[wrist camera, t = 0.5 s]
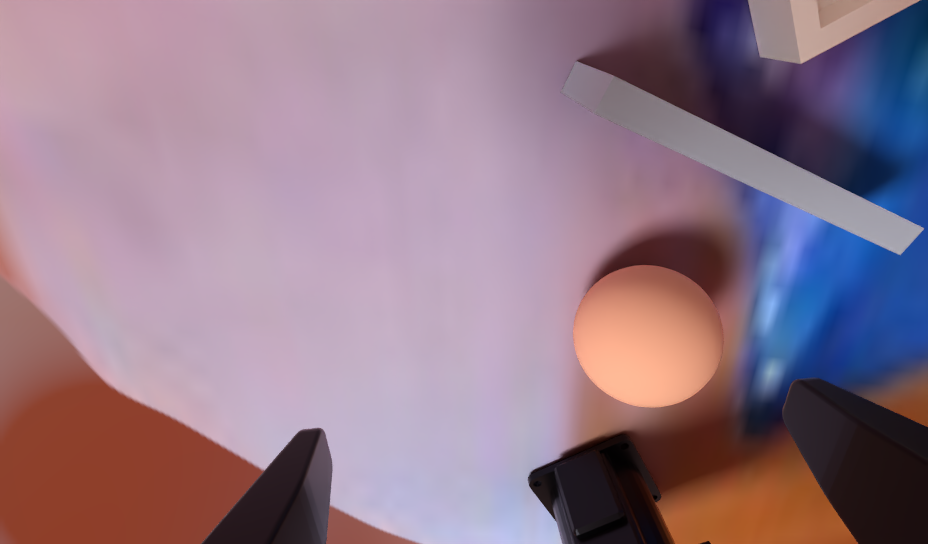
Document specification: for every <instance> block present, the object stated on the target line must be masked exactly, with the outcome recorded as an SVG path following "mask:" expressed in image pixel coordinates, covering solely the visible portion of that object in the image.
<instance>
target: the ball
mask: <svg viewBox="0 0 928 544" xmlns="http://www.w3.org/2000/svg"><path fill="white" fill-rule="evenodd" d="M573 338H574V346H575V350H576V354H577V357H578V359H579V362H580V364H581V366H582V368H583V369H584V371H585V372H586V374H587V375H588V377H589V378H590V379H591V380H592V381H593V382H594V383H595V384H596V385H597V386H598V387H599V388H600V389H601V390H602V391H604V392H605V393H607V394H608V395H610V396H612V397H613V398H615V399H617V400H619V401H622V402H625V403H627V404H630V405H635V406H641V407H663V406H668V405H673V404H676V403H679V402H681V401H684V400H686V399H688V398H690V397H691V396H693V395H694V394H696V393H697V392H698V391H700V390H701V389H702V388H703V387H704V386H705V385H706V384H707V383H708V381H709V380H710V379H711V378H712V376H713V375H714V373H715V371H716V369H717V367H718V365H719V362H720V360H721V356H722V351H723V344H724V337H723V327H722V323H721V319H720V316H719V313H718V311H717V309H716V307H715V305H714V303H713V302H712V300H711V299H710V297H709V296H708V295H707V294H706V292H705V291H704V290H703V289H702V288H701V287H700V286H699V285H698V284H696V283H695V282H694V281H692V280H691V279H690V278H688V277H686V276H685V275H683V274H681V273H679V272H677V271H674V270H671V269H668V268H664V267H660V266H652V265H637V266H631V267H626V268H623V269H619V270H617V271H614V272H612V273H610V274H608V275H606V276H605V277H603V278H602V279H600V280H599V281H598V282H597V283H596V284H594V285H593V286H592V288H591V289H590V290H589V291H588V292H587V293H586V295H585V296H584V298H583V299H582V301H581V303H580V305H579V307H578V310H577V313H576V316H575V320H574V329H573Z"/></svg>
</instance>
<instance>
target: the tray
mask: <svg viewBox="0 0 928 544" xmlns="http://www.w3.org/2000/svg"><path fill="white" fill-rule="evenodd" d="M918 1H920V0H748V3H749V8H750V13H751V18H752V22H753V27H754V32H755V36H756V41H757V46H758V51H759V55H760V57H763V58H769V59H774V60H780V61H786V62H792V63H798V64H802V63H804V62H806V61H808V60H809V59H811V58H813V57H815V56H817V55H819V54H821V53H823V52H824V51H826V50H828V49H830V48H832V47H834V46H836V45H837V44H839V43H841V42H843V41H845V40H847V39H849V38H851V37H852V36H854V35H856V34H858V33H860V32H862V31H864V30H866V29H867V28H869V27H871V26H873V25H875V24H877V23H879V22H880V21H882V20H884V19H886V18H888V17H890V16H892V15H894V14H895V13H897V12H899V11H901V10H903V9H905V8H907V7H909V6H910V5H912V4H914V3H916V2H918Z"/></svg>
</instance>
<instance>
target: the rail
mask: <svg viewBox="0 0 928 544" xmlns="http://www.w3.org/2000/svg"><path fill="white" fill-rule="evenodd" d="M561 93H563V94H564V95H566V96H567V97H569V98H570V99H572V100H573V101H575V102H577V103H578V104H580V105H581V106H583V107H584V108H586V109H587V110H589V111H591V112H592V113H594V114H596V115H598V116H600V117H602V118H604V119H607V120H609V121H611V122H613V123H615V124H617V125H619V126H622V127H624V128H626V129H628V130H630V131H632V132H635V133H637V134H639V135H641V136H643V137H645V138H648V139H650V140H652V141H654V142H656V143H658V144H661V145H663V146H665V147H667V148H669V149H671V150H674V151H676V152H678V153H680V154H682V155H684V156H687V157H689V158H691V159H693V160H695V161H697V162H700V163H702V164H704V165H706V166H708V167H710V168H713V169H715V170H717V171H719V172H721V173H723V174H726V175H728V176H730V177H732V178H734V179H736V180H739V181H741V182H743V183H745V184H747V185H749V186H752V187H754V188H756V189H758V190H760V191H762V192H765V193H767V194H769V195H771V196H773V197H775V198H778V199H780V200H782V201H784V202H786V203H788V204H791V205H793V206H795V207H797V208H799V209H801V210H804V211H806V212H808V213H810V214H812V215H814V216H817V217H819V218H821V219H823V220H825V221H827V222H830V223H832V224H834V225H836V226H838V227H840V228H843V229H845V230H847V231H849V232H851V233H853V234H856V235H858V236H860V237H862V238H864V239H866V240H868V241H871V242H873V243H875V244H877V245H879V246H881V247H884V248H886V249H888V250H890V251H892V252H894V253H897V254H899V255H901V254H902V252H903V251H904V250H905V249H906V248H907V247H908V246H909V245H910V244H911V243H912V241H913V240H914V239H915V238H916V237H917V236H918V235H919V234H920V233H921V232H922V231H923V229H924V228H922V227H920V226H918V225H916V224H914V223H912V222H910V221H908V220H906V219H904V218H902V217H900V216H898V215H896V214H894V213H892V212H890V211H888V210H886V209H884V208H882V207H880V206H878V205H876V204H874V203H871V202H869V201H867V200H865V199H863V198H861V197H859V196H857V195H855V194H853V193H851V192H849V191H847V190H845V189H843V188H841V187H839V186H837V185H835V184H833V183H831V182H829V181H827V180H825V179H823V178H821V177H819V176H817V175H815V174H813V173H811V172H808V171H806V170H804V169H802V168H800V167H798V166H796V165H794V164H792V163H790V162H788V161H786V160H784V159H782V158H780V157H778V156H776V155H774V154H772V153H770V152H768V151H766V150H764V149H762V148H760V147H758V146H756V145H754V144H752V143H750V142H748V141H745V140H743V139H741V138H739V137H737V136H735V135H733V134H731V133H729V132H727V131H725V130H723V129H721V128H719V127H717V126H715V125H713V124H711V123H709V122H707V121H705V120H703V119H701V118H699V117H697V116H695V115H693V114H691V113H689V112H687V111H685V110H682V109H680V108H678V107H676V106H674V105H672V104H670V103H668V102H666V101H664V100H662V99H660V98H658V97H656V96H654V95H652V94H650V93H648V92H646V91H644V90H642V89H640V88H638V87H636V86H634V85H632V84H630V83H628V82H626V81H624V80H622V79H620V78H617V77H615V76H613V75H611V74H608V73H606V72H603V71H600V70H598V69H595V68H593V67H590V66H588V65H585V64H583V63H580V62H577V61H576V62H575V64H574V66H573V68H572V70H571V72H570V74H569V76H568V78H567V80H566V82H565V85H564V87H563V89H562V91H561Z"/></svg>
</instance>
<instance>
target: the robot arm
mask: <svg viewBox="0 0 928 544" xmlns="http://www.w3.org/2000/svg"><path fill="white" fill-rule="evenodd" d="M782 415H783V420H784V423H785V425H786V427H787V429H788V431H789V432H790V434H791V436H792V438H793V439H794V441H795V443H796V445H797V446H798V448H799V450H800V452H801V454H802V455H803V457H804V459H805V461H806V462H807V464H808V466H809V468H810V469H811V471H812V473H813V475H814V477H815V478H816V480H817V482H818V484H819V485H820V487H821V489H822V490H823V492H824V494H825V495H826V497H827V499H828V500H829V502H830V503H831V505H832V506H833V508H834V509H835V511H836V512H837V513H838V515H839V516H840V518H841V519H842V521H843V522H844V524H845V525H846V526H847V528H848V529H849V531H850V532H851V534H852V535H853V537H854V538H855V539H856V541H857V542H858V544H928V427H926V426H924V425H921V424H919V423H917V422H915V421H913V420H910V419H908V418H906V417H904V416H902V415H899V414H897V413H895V412H893V411H890V410H888V409H886V408H884V407H882V406H879V405H877V404H875V403H873V402H871V401H868V400H866V399H864V398H862V397H859V396H857V395H855V394H853V393H851V392H848V391H846V390H844V389H842V388H840V387H837V386H835V385H833V384H831V383H829V382H826V381H824V380H822V379H819V378H804V379H797V380H794V381H793V382H792V383H791V386H790V389H789V392H788V395H787V398H786V401H785V404H784V407H783V411H782ZM331 481H332V458H331V454H330V450H329V447H328V443H327V439H326V435H325V432H324V430H323V429H321V428H313V429H303V430H301V431H299V432H298V433H297V434H296V435H295V436H294V437H293V438H292V440H291V441H290V442H289V443H288V444H287V445H286V447H285V448H284V449H283V450H282V451H281V452H280V453H279V455H278V456H277V457H276V458H275V459H274V460H273V462H272V463H271V464H270V465H269V466H268V467H267V468H266V470H265V471H264V472H263V473H262V474H261V475H260V477H259V478H258V479H257V480H256V481H255V482H254V483H253V485H252V486H251V487H250V488H249V489H248V490H247V491H246V493H245V494H244V495H243V496H242V497H241V498H240V500H239V501H238V502H237V503H236V504H235V505H234V506H233V508H232V509H231V510H230V511H229V512H228V513H227V515H226V516H225V517H224V518H223V519H222V520H221V521H220V522H219V524H218V525H217V526H216V527H215V528H214V530H213V531H212V532H211V533H210V534H209V535H208V536H207V537H206V539H205V540H204V541H203V542H202V543H201V544H326V539H327V527H328V515H329V504H330V492H331ZM528 482H529V486H530V488H531V489H532V491H533V492H534V493H535V494H536V496H537V497H538V498H539V500H540V501H541V502H542V504H543V505H544V506H545V508H546V509H547V510H548V511H549V513H550V514H551V515H552V517H553V518H554V519H555V521H556V522H557V525H558V529H559V532H560V536H561V540H562V543H563V544H675V542H674V540H673V538H672V536H671V534H670V532H669V530H668V528H667V526H666V524H665V522H664V519H663V517H662V515H661V513H660V511H659V509H658V507H657V505H656V503H655V502H657V501H659V500H660V499H661V494H660V492H659V490H658V488H657V486H656V484H655V483H654V481H653V479H652V477H651V475H650V473H649V472H648V470H647V468H646V466H645V464H644V462H643V461H642V459H641V457H640V455H639V453H638V451H637V450H636V448H635V446H634V444H633V442H632V440H631V439H630V437H629V436H627V435H620V436H617V437H615V438H613V439H611V440H608V441H606V442H604V443H601V444H599V445H597V446H594V447H592V448H590V449H588V450H585V451H583V452H581V453H578V454H576V455H574V456H572V457H569V458H567V459H565V460H562V461H560V462H558V463H555V464H553V465H551V466H549V467H546V468H544V469H542V470H539V471H537V472H535V473H533V474H531V475H530V476H529V477H528ZM700 544H711V543H710V542H709V541H707V542H703V543H700Z"/></svg>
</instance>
